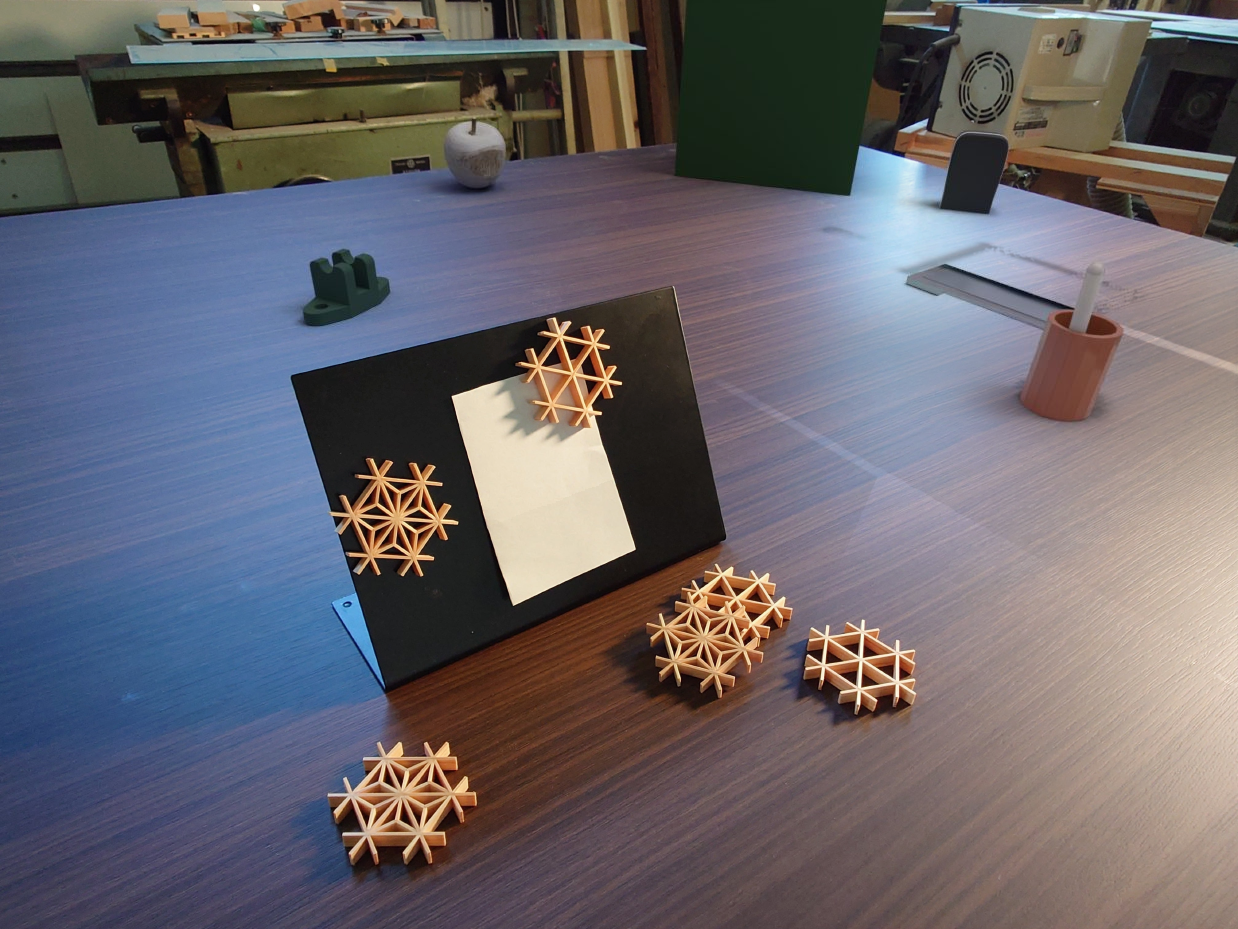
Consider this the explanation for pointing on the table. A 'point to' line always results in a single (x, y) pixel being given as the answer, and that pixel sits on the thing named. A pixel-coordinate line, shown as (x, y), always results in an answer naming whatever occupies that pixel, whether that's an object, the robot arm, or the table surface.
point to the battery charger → (974, 171)
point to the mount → (344, 288)
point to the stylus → (1087, 297)
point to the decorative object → (475, 153)
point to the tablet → (986, 294)
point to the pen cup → (1070, 366)
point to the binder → (776, 91)
